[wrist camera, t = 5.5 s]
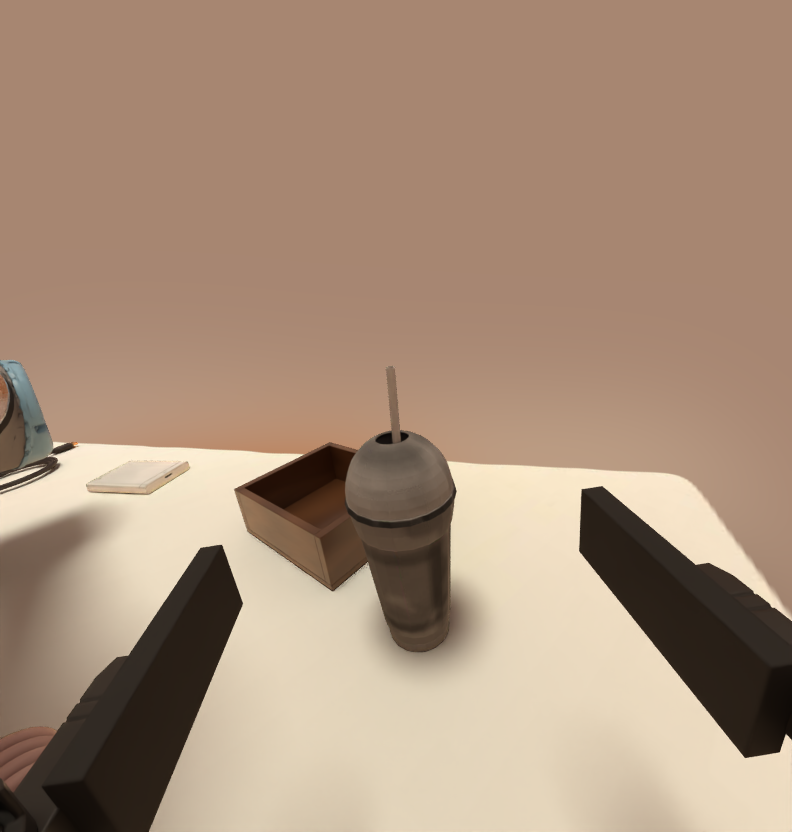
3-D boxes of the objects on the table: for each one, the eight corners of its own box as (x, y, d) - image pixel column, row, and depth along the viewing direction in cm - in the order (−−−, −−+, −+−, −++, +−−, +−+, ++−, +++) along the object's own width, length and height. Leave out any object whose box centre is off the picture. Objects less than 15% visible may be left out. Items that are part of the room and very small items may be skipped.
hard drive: (84, 483, 57) (144, 485, 53) (132, 459, 64) (187, 459, 61) (89, 492, 58) (148, 495, 54) (135, 467, 65) (190, 468, 61)
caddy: (247, 531, 42) (233, 489, 40) (337, 478, 51) (329, 442, 49) (332, 591, 32) (319, 538, 30) (426, 511, 41) (420, 467, 39)
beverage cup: (433, 573, 32) (406, 347, 25) (489, 636, 26) (472, 358, 19) (357, 612, 29) (304, 369, 23) (399, 693, 23) (342, 391, 16)
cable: (114, 446, 78) (111, 440, 77) (-77, 529, 53) (-83, 521, 52) (73, 445, 82) (70, 439, 82) (-120, 522, 58) (-126, 513, 57)
